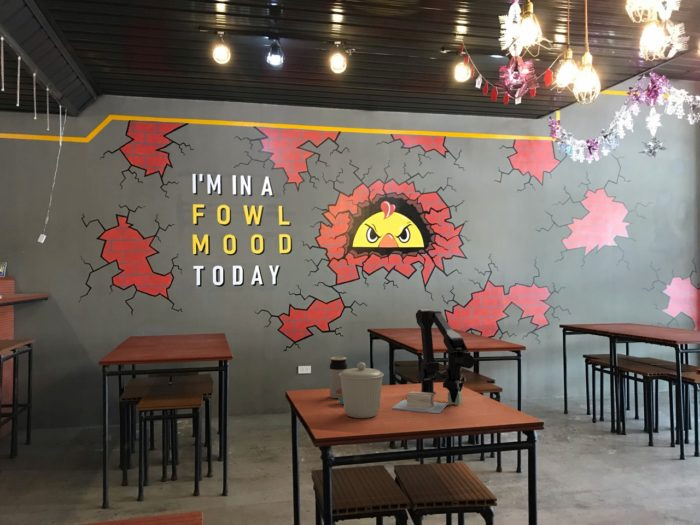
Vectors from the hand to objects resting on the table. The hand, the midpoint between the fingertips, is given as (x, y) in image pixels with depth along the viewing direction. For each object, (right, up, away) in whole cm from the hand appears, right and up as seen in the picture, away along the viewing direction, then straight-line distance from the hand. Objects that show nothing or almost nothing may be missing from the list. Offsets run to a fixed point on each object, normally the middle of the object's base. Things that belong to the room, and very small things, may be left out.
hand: (454, 401), depth 241 cm
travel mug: (-51, -2, +13) cm, 53 cm away
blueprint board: (-16, -1, -6) cm, 17 cm away
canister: (-41, -1, -19) cm, 45 cm away
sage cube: (0, -1, 0) cm, 1 cm away
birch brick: (-16, 0, -6) cm, 17 cm away
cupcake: (-48, -2, +1) cm, 48 cm away
